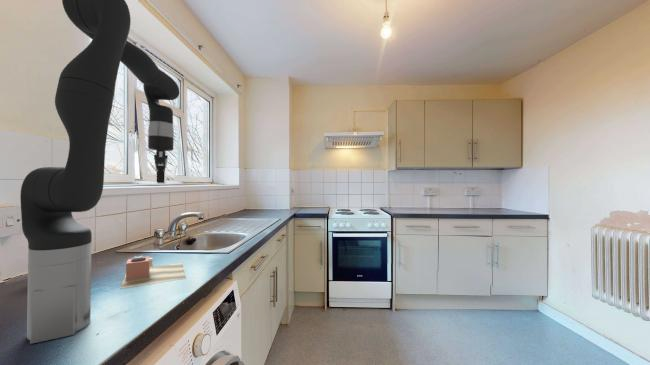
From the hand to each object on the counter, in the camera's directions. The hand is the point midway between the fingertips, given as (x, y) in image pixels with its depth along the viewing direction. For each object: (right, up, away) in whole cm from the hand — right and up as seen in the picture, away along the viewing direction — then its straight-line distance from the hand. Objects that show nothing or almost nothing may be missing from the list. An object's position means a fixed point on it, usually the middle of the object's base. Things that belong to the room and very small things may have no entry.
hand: (160, 182), depth 93 cm
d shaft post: (0, -30, -11) cm, 32 cm away
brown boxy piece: (0, -29, -11) cm, 31 cm away
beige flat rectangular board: (+4, -30, -8) cm, 32 cm away
